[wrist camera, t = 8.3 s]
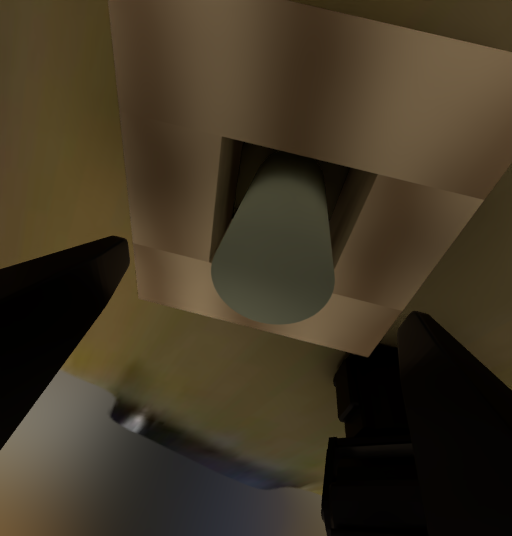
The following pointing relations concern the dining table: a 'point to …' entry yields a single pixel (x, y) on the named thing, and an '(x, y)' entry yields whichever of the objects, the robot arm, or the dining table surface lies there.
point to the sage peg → (278, 245)
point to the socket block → (304, 145)
